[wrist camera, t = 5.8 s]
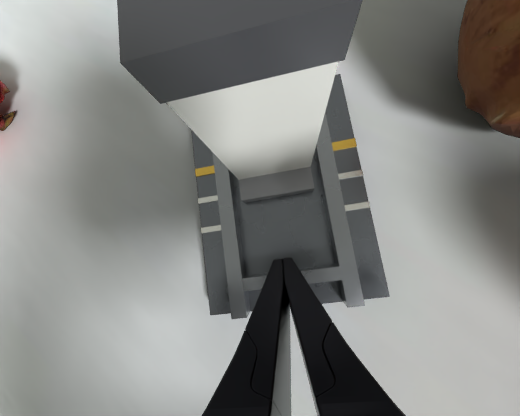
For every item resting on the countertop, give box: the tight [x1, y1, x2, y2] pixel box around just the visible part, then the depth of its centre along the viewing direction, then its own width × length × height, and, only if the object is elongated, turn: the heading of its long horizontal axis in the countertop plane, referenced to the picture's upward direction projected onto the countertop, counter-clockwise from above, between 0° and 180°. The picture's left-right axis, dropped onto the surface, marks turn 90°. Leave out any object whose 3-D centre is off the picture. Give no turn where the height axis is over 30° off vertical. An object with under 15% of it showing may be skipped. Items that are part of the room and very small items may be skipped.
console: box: [192, 74, 390, 319], centre depth 16 cm, size 16×12×2 cm
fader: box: [117, 0, 362, 203], centre depth 10 cm, size 6×5×12 cm
